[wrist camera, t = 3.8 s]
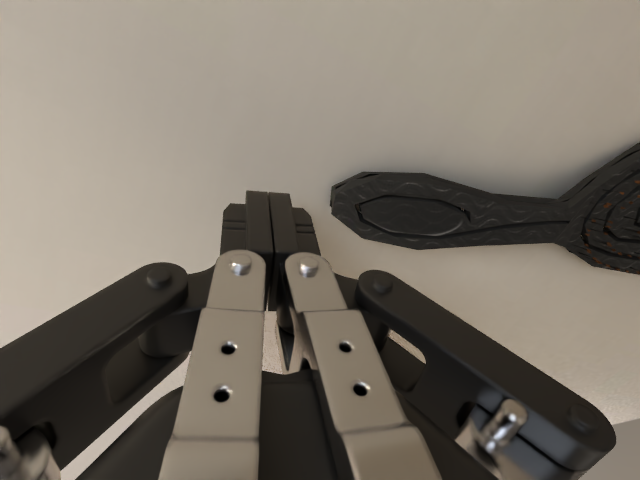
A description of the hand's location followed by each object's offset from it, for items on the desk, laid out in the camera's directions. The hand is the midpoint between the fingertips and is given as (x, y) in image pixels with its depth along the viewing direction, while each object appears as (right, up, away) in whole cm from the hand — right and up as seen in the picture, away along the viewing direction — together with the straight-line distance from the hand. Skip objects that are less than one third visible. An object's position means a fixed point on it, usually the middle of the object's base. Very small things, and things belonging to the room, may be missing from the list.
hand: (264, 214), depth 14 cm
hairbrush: (+15, +1, +6) cm, 16 cm away
